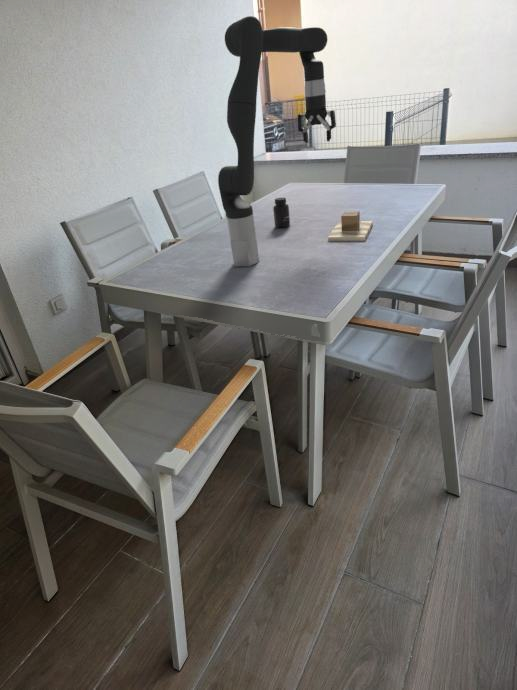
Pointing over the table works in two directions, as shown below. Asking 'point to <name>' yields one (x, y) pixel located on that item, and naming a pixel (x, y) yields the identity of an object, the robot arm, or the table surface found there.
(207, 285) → the table surface
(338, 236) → the birch board
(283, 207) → the supplement bottle
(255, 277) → the table surface
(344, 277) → the table surface
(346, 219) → the walnut block
